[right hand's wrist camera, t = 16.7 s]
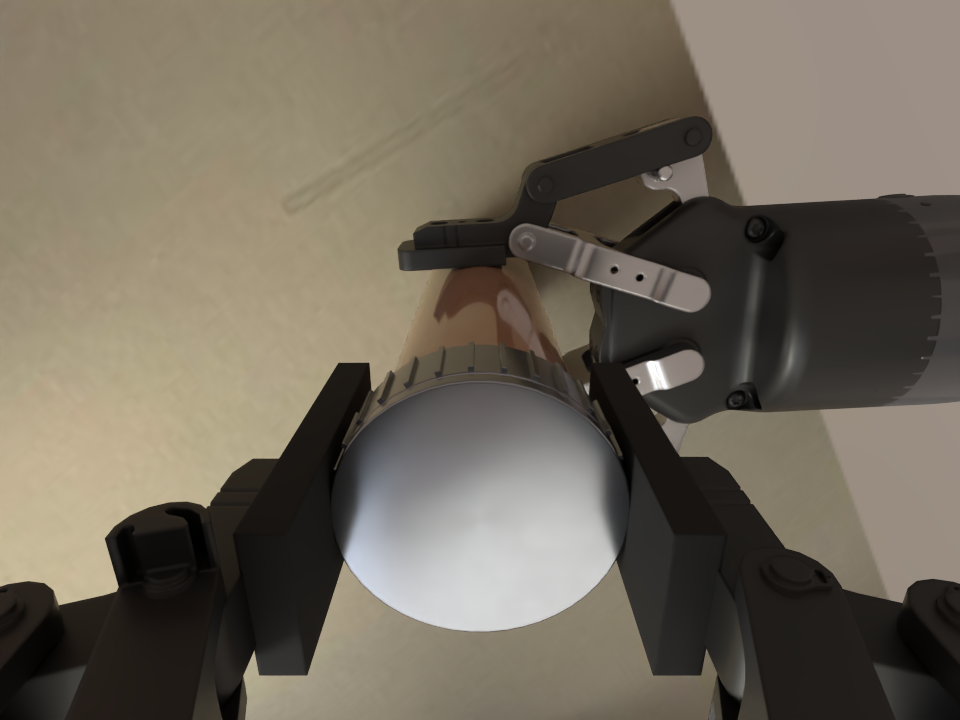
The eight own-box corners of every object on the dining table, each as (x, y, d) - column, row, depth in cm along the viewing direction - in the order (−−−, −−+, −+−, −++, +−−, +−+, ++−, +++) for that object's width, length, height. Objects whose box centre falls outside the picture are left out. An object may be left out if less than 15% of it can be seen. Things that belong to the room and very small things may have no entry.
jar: (453, 341, 29) (417, 612, 12) (415, 252, 27) (317, 428, 11) (544, 308, 28) (631, 548, 12) (511, 215, 27) (559, 343, 10)
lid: (617, 331, 11) (642, 367, 9) (610, 565, 13) (629, 629, 12) (327, 347, 11) (300, 385, 10) (365, 577, 13) (348, 641, 12)
